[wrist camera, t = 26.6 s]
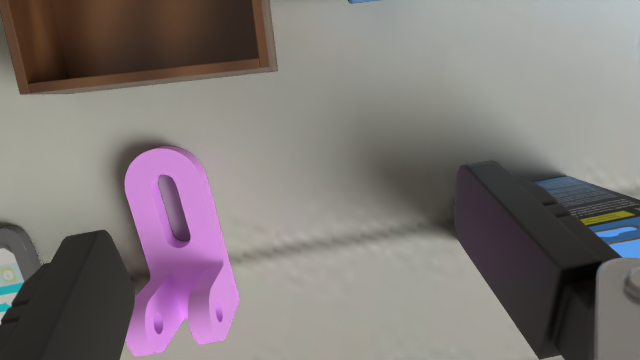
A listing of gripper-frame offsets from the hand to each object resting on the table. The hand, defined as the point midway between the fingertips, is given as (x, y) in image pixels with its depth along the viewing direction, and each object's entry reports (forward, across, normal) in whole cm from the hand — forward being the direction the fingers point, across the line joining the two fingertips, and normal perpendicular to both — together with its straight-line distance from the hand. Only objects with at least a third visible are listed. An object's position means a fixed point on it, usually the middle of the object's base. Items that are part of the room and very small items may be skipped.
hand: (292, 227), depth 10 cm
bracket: (+20, +8, +13) cm, 25 cm away
